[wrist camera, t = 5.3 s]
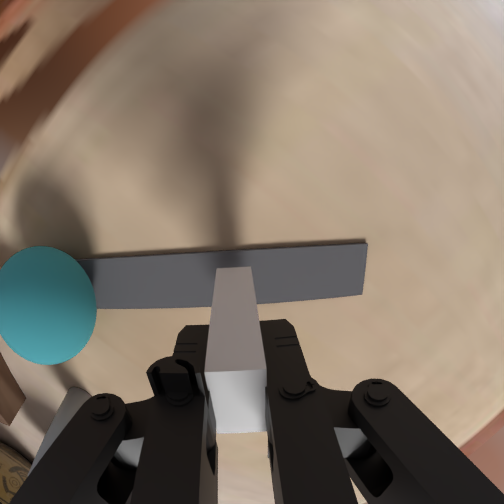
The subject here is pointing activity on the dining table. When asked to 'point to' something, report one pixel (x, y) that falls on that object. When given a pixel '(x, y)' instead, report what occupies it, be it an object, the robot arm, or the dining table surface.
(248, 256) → the grey flat bar
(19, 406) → the backstop
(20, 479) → the ceramic bowl
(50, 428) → the grey pin
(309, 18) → the dining table surface
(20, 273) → the ball
